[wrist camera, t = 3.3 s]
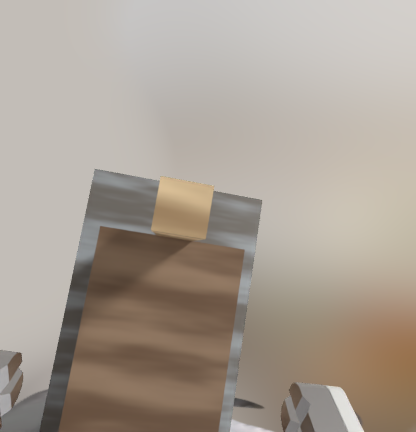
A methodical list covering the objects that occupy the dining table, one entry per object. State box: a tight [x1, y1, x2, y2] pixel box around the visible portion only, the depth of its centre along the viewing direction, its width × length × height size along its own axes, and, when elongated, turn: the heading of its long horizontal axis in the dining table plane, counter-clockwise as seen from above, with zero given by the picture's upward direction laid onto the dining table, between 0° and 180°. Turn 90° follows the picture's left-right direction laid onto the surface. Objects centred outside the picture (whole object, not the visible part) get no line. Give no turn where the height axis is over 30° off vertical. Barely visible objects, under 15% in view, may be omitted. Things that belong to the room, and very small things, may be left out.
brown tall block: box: [40, 169, 262, 432], centre depth 33 cm, size 19×24×34 cm
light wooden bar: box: [151, 176, 214, 241], centre depth 24 cm, size 16×4×4 cm, turn 8°
